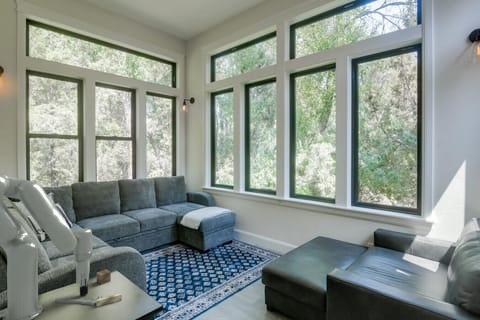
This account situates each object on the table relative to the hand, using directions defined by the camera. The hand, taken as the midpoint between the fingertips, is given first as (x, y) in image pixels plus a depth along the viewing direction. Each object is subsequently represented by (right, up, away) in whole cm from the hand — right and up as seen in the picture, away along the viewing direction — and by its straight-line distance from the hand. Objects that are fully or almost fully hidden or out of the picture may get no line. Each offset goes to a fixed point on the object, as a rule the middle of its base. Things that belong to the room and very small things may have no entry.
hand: (83, 293), depth 121 cm
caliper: (0, 0, -2) cm, 2 cm away
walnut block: (+2, -1, +13) cm, 13 cm away
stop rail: (+15, -1, -6) cm, 17 cm away
